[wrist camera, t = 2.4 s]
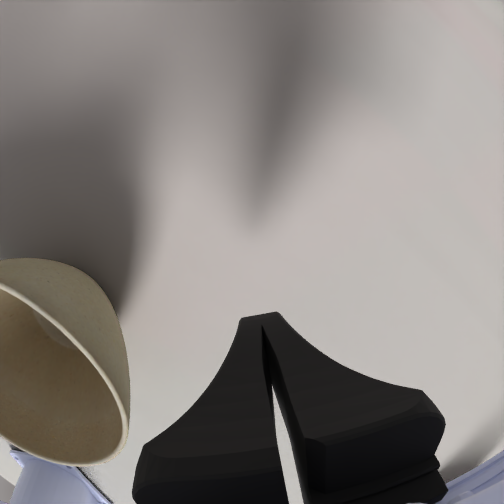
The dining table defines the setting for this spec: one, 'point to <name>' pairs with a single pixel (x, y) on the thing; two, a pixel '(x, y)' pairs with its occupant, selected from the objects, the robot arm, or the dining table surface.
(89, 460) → the flower pot
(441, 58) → the dining table surface
